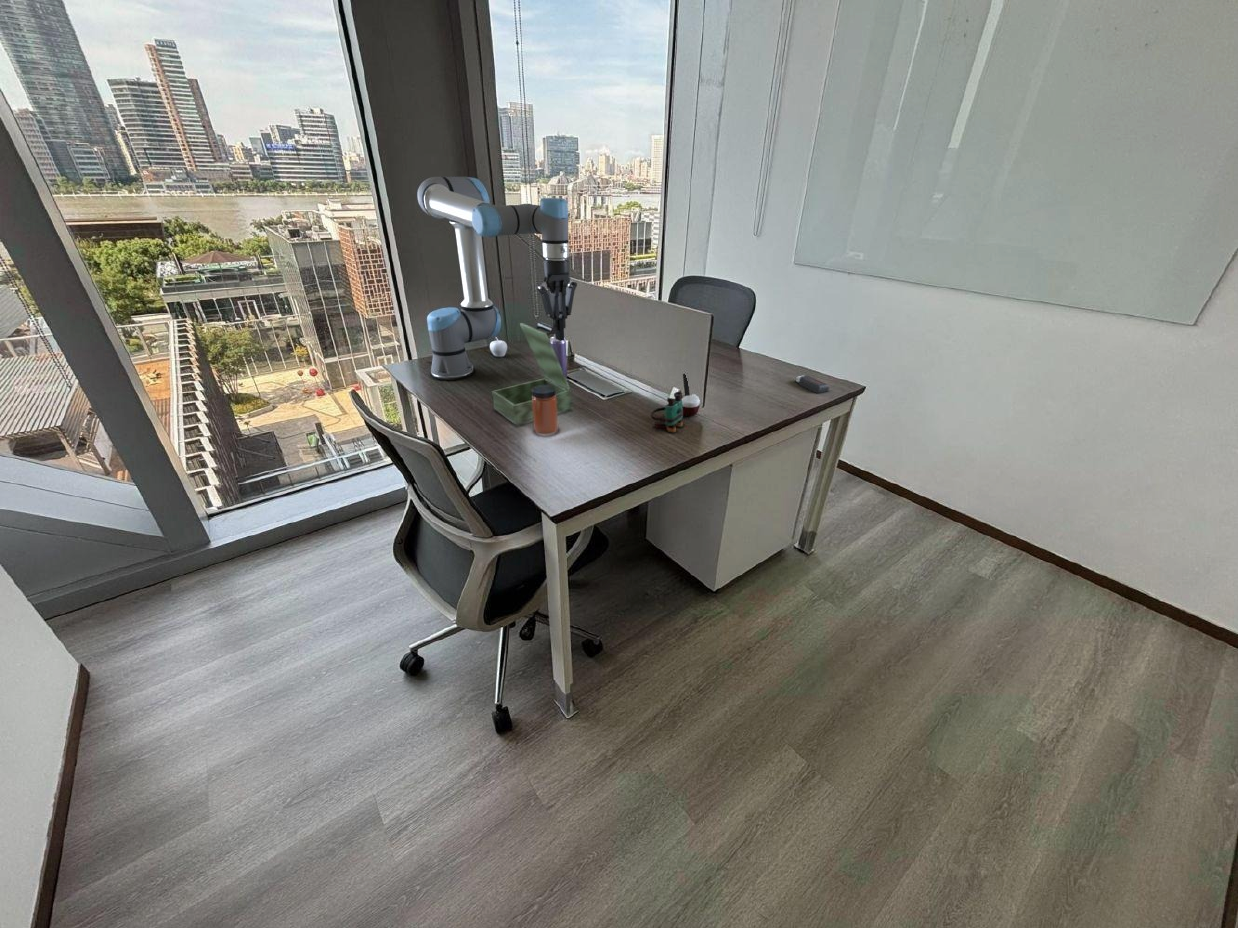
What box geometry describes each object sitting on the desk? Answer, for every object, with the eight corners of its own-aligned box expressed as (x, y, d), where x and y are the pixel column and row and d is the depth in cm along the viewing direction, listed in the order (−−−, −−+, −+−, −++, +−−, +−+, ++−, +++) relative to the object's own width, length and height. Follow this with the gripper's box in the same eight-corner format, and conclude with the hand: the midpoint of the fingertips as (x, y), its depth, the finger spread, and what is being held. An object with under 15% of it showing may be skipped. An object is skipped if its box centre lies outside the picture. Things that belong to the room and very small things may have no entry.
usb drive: (817, 393, 174) (819, 386, 173) (793, 382, 184) (795, 375, 182) (828, 391, 176) (830, 384, 175) (804, 380, 186) (805, 373, 184)
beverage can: (564, 381, 180) (562, 341, 173) (549, 380, 181) (546, 340, 174) (569, 376, 185) (567, 336, 178) (554, 374, 186) (552, 335, 179)
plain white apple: (493, 352, 208) (491, 334, 204) (510, 353, 208) (508, 334, 203) (488, 357, 202) (486, 338, 198) (505, 358, 202) (503, 339, 197)
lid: (544, 334, 140) (559, 324, 142) (519, 323, 150) (534, 314, 152) (568, 390, 154) (582, 380, 156) (544, 377, 164) (557, 367, 166)
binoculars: (658, 387, 150) (688, 391, 145) (659, 419, 155) (688, 424, 150) (644, 396, 144) (674, 401, 139) (645, 429, 149) (675, 435, 144)
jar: (530, 429, 146) (526, 387, 139) (550, 423, 150) (547, 382, 143) (542, 438, 141) (539, 395, 134) (562, 431, 145) (560, 389, 138)
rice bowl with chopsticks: (698, 420, 153) (702, 384, 147) (678, 419, 154) (681, 383, 147) (698, 408, 161) (701, 374, 155) (679, 407, 162) (682, 372, 156)
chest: (516, 426, 147) (514, 406, 144) (494, 410, 157) (492, 390, 154) (570, 410, 158) (569, 391, 154) (546, 396, 168) (545, 377, 164)
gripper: (543, 262, 135) (548, 345, 147) (582, 258, 142) (583, 338, 154) (530, 258, 140) (535, 340, 152) (567, 255, 147) (570, 333, 159)
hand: (559, 339), depth 153 cm, fingers closed
